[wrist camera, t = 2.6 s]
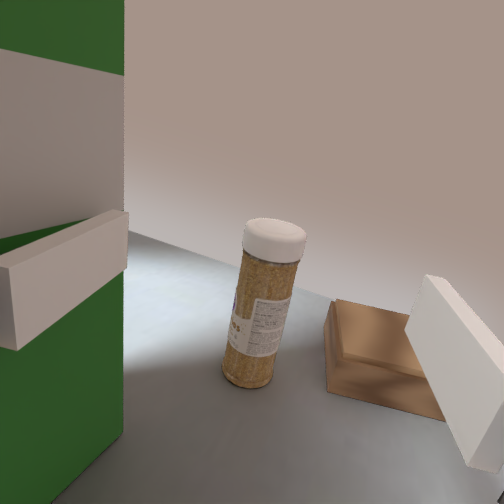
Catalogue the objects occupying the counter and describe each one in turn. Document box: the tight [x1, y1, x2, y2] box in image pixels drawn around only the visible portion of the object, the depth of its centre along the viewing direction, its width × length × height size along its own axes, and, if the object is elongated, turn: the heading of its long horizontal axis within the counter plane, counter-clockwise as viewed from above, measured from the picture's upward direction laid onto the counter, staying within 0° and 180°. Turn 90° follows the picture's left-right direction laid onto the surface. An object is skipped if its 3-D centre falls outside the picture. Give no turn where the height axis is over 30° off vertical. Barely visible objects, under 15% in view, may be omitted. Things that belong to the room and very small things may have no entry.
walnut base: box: [324, 299, 446, 422], centre depth 33 cm, size 10×10×4 cm
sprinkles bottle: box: [222, 218, 307, 388], centre depth 27 cm, size 5×5×14 cm
